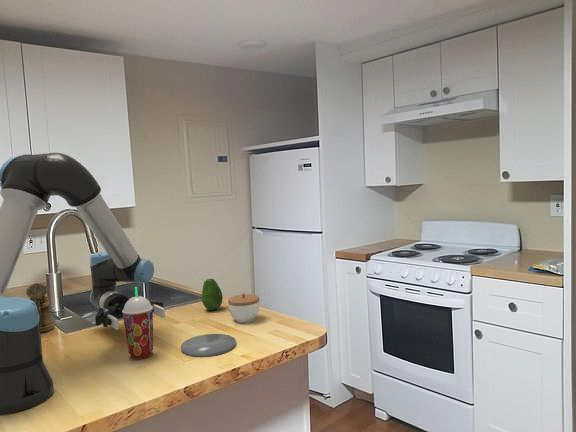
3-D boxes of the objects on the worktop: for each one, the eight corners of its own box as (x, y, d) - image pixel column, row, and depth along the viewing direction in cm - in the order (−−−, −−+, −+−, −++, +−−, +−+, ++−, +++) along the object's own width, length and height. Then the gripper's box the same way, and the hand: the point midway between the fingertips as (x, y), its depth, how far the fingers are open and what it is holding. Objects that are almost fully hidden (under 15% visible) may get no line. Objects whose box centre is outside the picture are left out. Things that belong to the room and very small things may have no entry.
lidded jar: (230, 326, 156) (228, 299, 155) (228, 317, 166) (226, 291, 165) (262, 323, 158) (260, 296, 157) (258, 314, 168) (256, 288, 167)
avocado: (198, 309, 177) (196, 278, 176) (217, 305, 182) (215, 275, 180) (208, 314, 171) (206, 282, 169) (227, 309, 175) (225, 278, 174)
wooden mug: (25, 340, 152) (19, 285, 150) (26, 328, 164) (20, 278, 162) (55, 334, 156) (50, 281, 154) (54, 323, 168) (49, 274, 166)
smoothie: (161, 350, 137) (156, 283, 135) (145, 362, 129) (140, 291, 127) (136, 349, 139) (131, 283, 137) (119, 360, 131) (113, 290, 129)
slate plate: (236, 353, 132) (236, 350, 132) (178, 359, 129) (178, 356, 129) (234, 334, 148) (234, 331, 147) (183, 339, 145) (182, 336, 145)
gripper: (153, 307, 157) (182, 321, 140) (74, 325, 141) (96, 343, 125) (152, 285, 156) (180, 296, 140) (72, 301, 141) (94, 315, 124)
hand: (141, 318), depth 132 cm, fingers open, 13 cm apart
